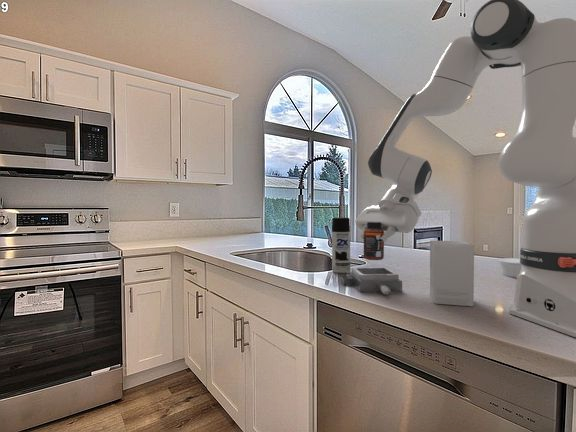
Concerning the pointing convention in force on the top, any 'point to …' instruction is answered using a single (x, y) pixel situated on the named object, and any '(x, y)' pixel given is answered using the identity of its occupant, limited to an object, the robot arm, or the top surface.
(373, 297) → the top surface
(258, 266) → the top surface
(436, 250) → the supplement box
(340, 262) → the spray can
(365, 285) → the grey square tray
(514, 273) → the ramekin
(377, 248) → the supplement bottle
